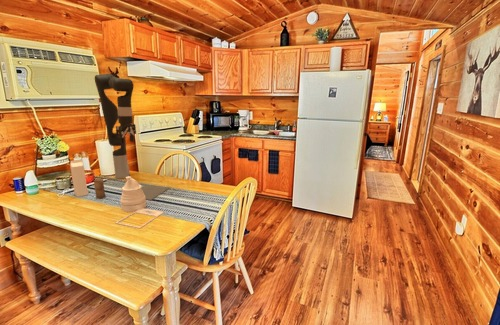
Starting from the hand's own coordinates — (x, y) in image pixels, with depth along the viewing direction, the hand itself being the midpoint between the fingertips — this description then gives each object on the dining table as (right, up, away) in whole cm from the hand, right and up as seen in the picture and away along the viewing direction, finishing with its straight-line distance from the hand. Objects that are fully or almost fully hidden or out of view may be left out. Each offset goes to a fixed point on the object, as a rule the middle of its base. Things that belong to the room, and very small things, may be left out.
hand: (127, 142), depth 151 cm
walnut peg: (-18, -33, +4) cm, 38 cm away
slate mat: (+7, -31, +13) cm, 34 cm away
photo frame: (+17, -40, -21) cm, 49 cm away
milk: (-33, -32, +8) cm, 46 cm away
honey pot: (+8, -37, -8) cm, 38 cm away
